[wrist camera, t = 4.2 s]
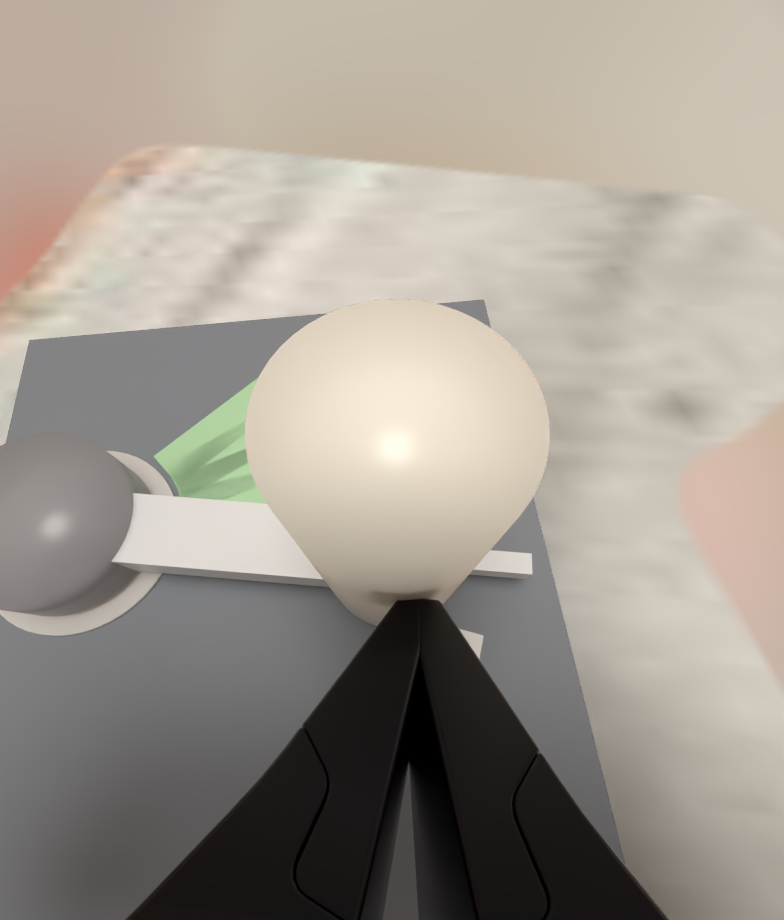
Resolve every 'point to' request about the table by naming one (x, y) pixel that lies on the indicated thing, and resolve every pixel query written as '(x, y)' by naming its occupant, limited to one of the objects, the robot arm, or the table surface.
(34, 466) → the needle lever
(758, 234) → the table surface
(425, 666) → the robot arm
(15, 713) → the board
